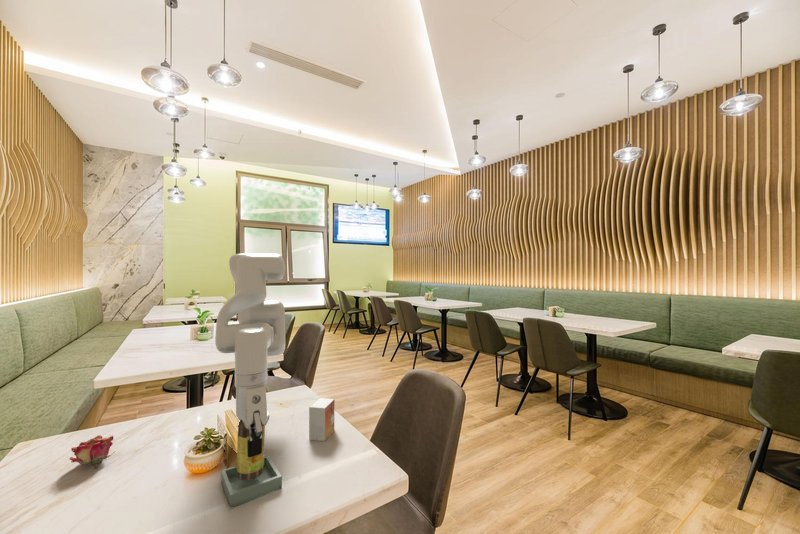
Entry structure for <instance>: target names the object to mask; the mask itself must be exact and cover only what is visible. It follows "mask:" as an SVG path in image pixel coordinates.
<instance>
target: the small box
mask: <svg viewBox="0 0 800 534" xmlns="http://www.w3.org/2000/svg"><path fill="white" fill-rule="evenodd" d="M334 431H335V399H334V398H325V397H320V398H318V399H317V400H316V401H315V402H314V403H313V404H312V405H310V406H308V440H310V441H320V442H321V441H322V442H326V440H327V439H328V438H329V437H330V436H331V434H332V433H333V432H334Z"/></svg>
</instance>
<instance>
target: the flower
mask: <svg viewBox="0 0 800 534" xmlns="http://www.w3.org/2000/svg"><path fill="white" fill-rule="evenodd" d="M112 441H114V435H110V436H108V437H104V436H102V435H97V436H95V437H93V438H90V439H89V440H87V441H82V442H80V443H79V445H78V446H75V447H71V450H70V451H71V452H72V453H73V456H75V457H73V456H70V457H69V460H70V461H71V463H78V464H81V465H86V466H89V465H93V470H95V469H98V464H99V463H102V462H103V461H104V460H107V459H108V458H110V456H111V455H113V454H114V453H115V451H113V452H112V453H111V454H109V452H110V449H111V447H112V446H113V444H114V443H113V442H112Z"/></svg>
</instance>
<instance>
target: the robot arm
mask: <svg viewBox="0 0 800 534" xmlns="http://www.w3.org/2000/svg"><path fill="white" fill-rule="evenodd" d="M228 265H229V270H230V273H231V276H232V278H233V280H234V283H235V294H234V295H233V296H231V297H230V298H229V299H228V300H227V301H226V302H225V303H224V304H223V306H222V307H221V308H220V310H219V312H218V315H217V318H216V325H215V337H214V339H215V342H214V343H215V347H216V349H217V351H218V352H220V353H223V354H234V387H235V414H236V416H237V417H238V419H239V420H241V419H242V421H243V423H244V426H245V428H247V429H248V434H249V440H248V448H247V455H248V457H253V456H256V455H259V454H261V453H262V426H261V423H262V424H263V425H265V426H266V425H267V424H268V419H269V417H270V411H268V407H267V406H268V403H267V402H268V401H267V391H266V384H267V383H268V357H277V356H280V355H283V353H284V352H285V351H286V311H285V306H284V304H283V303H282V302H281V301H279V300H265V299H266V298H267V281H281V280H283V278H285V275H286V263H285V259H284V257H283V256H282V255H281V254H279V253H257V252H256V253H255V252H253V253H252V252H251V253H250V252H242V253H235V254H232V255H231V256H230V257H229V261H228ZM236 315H237V321H238V323H235V324H233V323H232V324H231V323H230V324H229V321H230V320H231V319H232V318H233V317H235V316H236ZM255 398H256V399H255ZM260 419H261V420H260ZM251 424H254V425H255V426H253V427H251V426H250V425H251ZM252 429H255V432H253V434H252Z"/></svg>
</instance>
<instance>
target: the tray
mask: <svg viewBox="0 0 800 534" xmlns="http://www.w3.org/2000/svg"><path fill="white" fill-rule="evenodd" d="M220 473H221V475H220V476H221V477H220V479H221V480H220V481H221V482H220V484H221V485H222V489H223V492H224V495H225V497H226V500H227V504H228V506H229V509H233V508H235V507H238V506H240V505H243V504H245V503H248V502H250V501H253V500H256V499H258V498H260V497H264V496H265V495H268V494H271V493H273V492H276V491H279V490H281V489H283V485H282V484H283V481H282V480H283V477H282V476H283V475H282V474H281V472H279V470H278V468H277V466H276V464H274V462H273V460H272V459H271V457H270V455H268V454H267V455H264V465H263V472H262V474H261V475H260V476H258V477H257V478H255V479H253V480H248V481H242V480H239V479H238V477H237V473H238V471H237V465H234V466H231V467H228V468H225V469H223V470H221V472H220Z"/></svg>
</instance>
